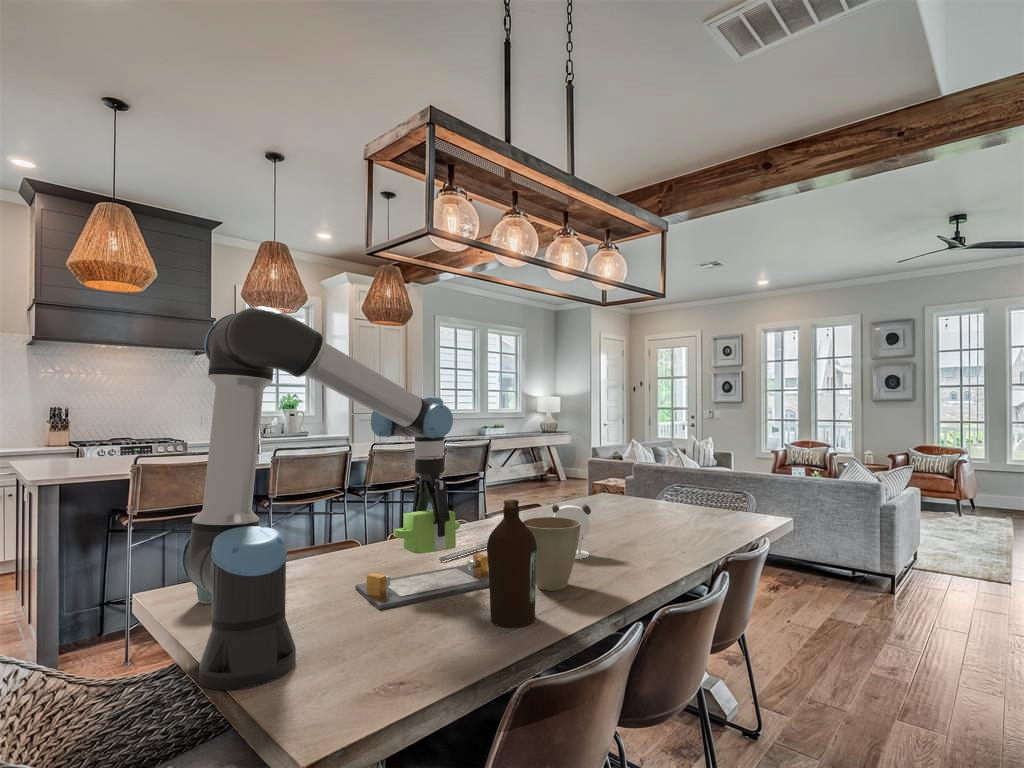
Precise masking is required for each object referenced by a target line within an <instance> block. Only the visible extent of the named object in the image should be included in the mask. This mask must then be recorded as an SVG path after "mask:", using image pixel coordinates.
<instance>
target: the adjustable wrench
mask: <svg viewBox="0 0 1024 768" xmlns="http://www.w3.org/2000/svg"><path fill="white" fill-rule="evenodd" d="M487 543H488V540H487V541H482V542H479V543H477V544H476V546H472V547H469V548H466V549H462V550H459V551H457V552H453V553H449V554H446V555H443V556H442V555H441V556H439V557H438V561H439V560H440V561H445V560H449V559H452V558H455V557H458V556H461V555H464V554H467V553H471V552H474V551H477V550H480V549H484V548H487Z"/></svg>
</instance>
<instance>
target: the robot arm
mask: <svg viewBox="0 0 1024 768" xmlns="http://www.w3.org/2000/svg"><path fill="white" fill-rule="evenodd" d="M203 347H204V352H205V355H206V357H207V359H208V361H209V362H208V363H209V364H208V372H207V373H208V374H207V377H208V379H209V381H211V382H212V383H213V384H214V386H215V392H214V399H213V406H212V407H213V410H212V419H211V428H210V437H209V447H208V456H207V463H206V464H207V465H206V474H205V483H204V493H203V494H204V495H203V503H202V509H201V511H200V512H199V513H198V514H197V515H196V516H194V517H193V518H192V521H191V527H190V528H191V529H190V530H191V531H190V535H189V537H188V538H186V541H185V542H184V544H183V546H182V549H181V554H180V563H181V568H182V570H183V572H184V574H185V576H186V577H187V579H188V580H189V581H190V582H191V583H192V584H194V585H195V587H196V586H197V587H199V588H201V589H204V590H205V591H207V592H208V593H210V594H211V595H212V603H211V627H210V628H211V630H210V634H209V636H208V639H207V643H206V645H205V648H204V650H203V654H202V656H201V659H200V663H199V665H198V666H199V667H198V681H199V684H200V685H202V686H203V687H205V688H208V689H212V690H217V691H218V690H219V691H233V690H234V691H235V690H241V689H248V688H252V687H257V686H260V685H264V684H265V683H270V682H272V681H275V680H277V679H279V678H280V677H282V676H284V675H285V674H287V673H288V672H289V671H290V670H292V669H293V667H294V666H295V665H296V661H297V656H296V655H297V654H296V653H297V652H296V651H297V650H296V644H295V642H294V638H293V636H292V634H291V630H290V626H289V624H288V622H287V619H286V583H287V579H286V578H287V557H288V555H287V554H288V550H287V546H286V539H285V536H284V534H283V533H281V532H280V531H279V530H277V529H275V528H271V527H268V526H267V527H262V526H260V517H259V516H258V515H257V514H256V513H255V512H254V511H253V501H254V491H255V481H256V467H257V461H258V460H257V459H258V449H259V448H258V447H259V439H260V427H261V417H262V407H263V396H264V390H265V389H266V388H267V387H269V386H270V385H271V384H272V383H273V379H274V369H275V370H279V371H282V372H285V373H288V374H289V375H292V376H294V377H295V378H301V377H304V376H305V377H307V378H309V379H311V380H313V381H314V382H317V383H318V384H321V385H323V386H324V387H326V388H328V389H330V390H332V391H334V392H336V393H337V394H340V395H341V396H344V397H345V398H347V399H349V400H351V401H353V402H355V403H357V404H359V405H361V406H363V407H365V408H367V409H369V410H370V411H372V413H371V415H370V427H371V430H372V432H373V434H374V435H375V436H377V437H379V438H382V437H384V438H390V437H391V438H392V437H402V438H403V437H406V438H407V437H408V438H410V437H411V438H414V457H415V458H416V459H415V460H414V471H415V473H416V474H417V475H420V476H415V477H414V481H415V482H414V495H413V504H412V512H418V511H428V510H427V509H428V505H429V501H430V504H431V507H432V510H433V512H434V516H435V521H434V522H433V524H434V550H441V549H446V546H445V522H447V521H450V516H449V511H450V510H449V508H450V507H449V503H448V501H449V500H448V495H447V481H446V480H441V479H440V474H442V473H445V470H446V468H445V467H446V465H445V461H446V460H445V458H444V457H443V456H445V447H446V444H445V436H447V435H448V434H449V433H450V432H451V430H452V428H453V423H454V415H453V413H452V411H451V409H450V408H449V407H448V406H447V405H445V404H444V400H443V399H442V398H441V397H420V396H418V395H416V393H415V394H414V393H412V392H411V391H409V390H408V389H406V388H405V387H402V386H401V385H399V384H398V383H396V382H395V381H392V380H391V379H389V378H387V377H386V376H384V375H382V374H380V373H378V372H377V371H375V370H373V369H372V368H370V367H368V366H367V365H365V364H363V363H362V362H360V361H358V360H356V359H354V358H353V357H351V356H349V355H348V354H347V353H344V352H343V351H341V350H340V349H338V348H335V347H334V346H333V345H331V344H329V343H327V342H326V341H325V336H324V335H323V334H322V333H320V332H318V331H317V330H315V329H314V328H312V327H310V326H309V325H307V324H305V322H304V323H303V322H302V321H300V320H299V319H296V318H295V317H292V316H290V315H289V314H287V313H285V312H283V311H281V310H278V309H274V308H272V307H266V306H252V307H247V308H245V309H243V310H240V311H239V312H235V313H231V314H227V315H225V316H223V317H221V318H219V319H218V320H217V321H216V322H215V323H213V325H211V327H210V328H209V329H208V331H207V332H206V335H205V338H204V345H203ZM197 587H196V588H197Z"/></svg>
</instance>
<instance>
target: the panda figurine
mask: <svg viewBox="0 0 1024 768" xmlns="http://www.w3.org/2000/svg"><path fill="white" fill-rule="evenodd" d="M551 508H552V509H551V510H552V513H553V516H552V517H560V518H569V519H574V520H577V521H579V522H580V523H581V526H580V534H579V541H578V547H577V551H576V556H575V559H580V560H583V559H582V558H585V559H587V558H589V557H590V553H589V552H588V551H585V550H583V549H582V542H583V540H584V536H586V534H587V533H588V531H589V530H590V527H591V522H590V519H589V516H588V515H591V513H592V509H591V508H590V506H589V505H588V504H583V505H582V506H581V507H580V506H577V505H571V504H569V505H562V506H559V505H558V504H553V505H552V507H551ZM588 556H589V557H588ZM586 557H587V558H586Z"/></svg>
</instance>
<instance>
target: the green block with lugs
mask: <svg viewBox="0 0 1024 768" xmlns="http://www.w3.org/2000/svg"><path fill="white" fill-rule="evenodd" d="M449 516H450V521H447V522H445V546H446V549H441V550H434V524H433V522H434V521H435V516H434V512H433V509H430V510H426V511H418V512H413V511H412V512H411V511H410V512H406V513H405V512H404V513H403V527H400V528H393V537H395V538H397V539H403V549H405V550H407V551H408V552H411V553H412V554H416V555H417V554H418V555H420V554H430V553H435V552H441V551H447V550H452V549H455V548H456V547H457V545H456V543H457V542H456V541H457V538H456V534H457V533H456V531H457V530H459V529H460V528H461V523H460V522H459V521H456V512H455V511H452V510H449Z"/></svg>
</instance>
